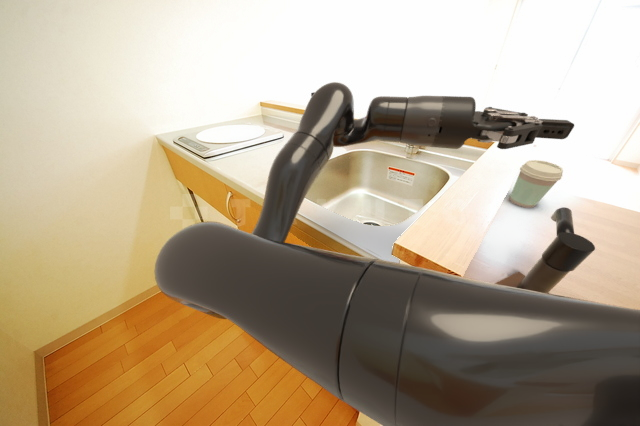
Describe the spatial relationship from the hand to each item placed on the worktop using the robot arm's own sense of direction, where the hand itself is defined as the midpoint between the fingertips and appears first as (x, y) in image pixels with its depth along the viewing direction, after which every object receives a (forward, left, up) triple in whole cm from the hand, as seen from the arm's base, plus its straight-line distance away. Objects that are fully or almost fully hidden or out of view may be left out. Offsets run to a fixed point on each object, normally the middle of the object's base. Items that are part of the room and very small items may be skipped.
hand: (568, 130), depth 32 cm
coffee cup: (+11, -29, -29) cm, 43 cm away
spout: (-6, -4, -18) cm, 19 cm away
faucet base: (-9, +1, -29) cm, 30 cm away
